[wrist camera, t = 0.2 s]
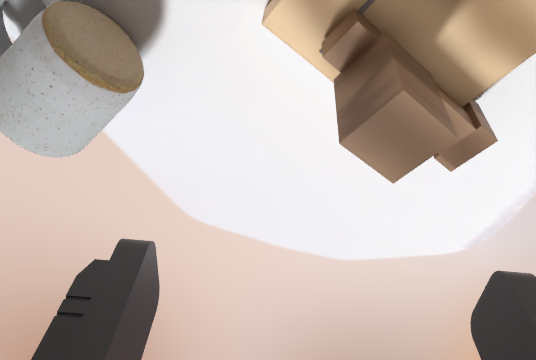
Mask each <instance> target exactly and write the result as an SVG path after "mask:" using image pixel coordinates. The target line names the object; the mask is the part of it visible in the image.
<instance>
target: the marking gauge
mask: <svg viewBox="0 0 536 360" xmlns="http://www.w3.org/2000/svg"><path fill="white" fill-rule="evenodd" d="M322 58H324V59H325V60H326V61H327V62H328V63H330V64H331V65H332V66H333V67H334V68H336V69H337V70H338V71H339V72H340V74H339V75H338V76H337V77H336V78H335V79H334V89H335V100H336V111H337V122H338V133H339V144H341V145H342V146H343V147H345V148H346V149H347V150H349V151H350V152H352V153H353V154H354V155H356V156H357V157H358V158H360V159H361V160H362V161H364V162H365V163H366V164H368V165H369V166H370V167H372V168H373V169H374V170H376V171H377V172H378V173H380V174H381V175H382V176H384V177H385V178H386V179H388V180H389V181H390V182H392V183H395V182H396V181H398V180H399V179H401V178H402V177H403V176H405V175H406V174H408V173H409V172H411V171H412V170H413V169H415V168H416V167H418V166H419V165H421V164H422V163H423V162H425V161H426V160H428V159H429V158H431V157H432V156H433V155H434V158H435V159H436V160H437V161H438V162H440V163H441V164H442V165H443V166H445V167H446V168H447V169H448V170H449V171H453V170H454V169H456V168H457V167H459V166H460V165H462V164H463V163H465V162H466V161H468V160H469V159H471V158H473V157H474V156H476V155H477V154H479V153H480V152H482V151H483V150H485V149H486V148H488V147H489V146H491V145H492V144H494V143H495V142H497V141H498V140H497V138H496V136H495V134H494V133H493V131H492V129H491V127H490V125H489V123H488V122H487V120H486V118H485V116H484V114H483V112H482V110H481V109H480V107H479V105H478V104H477V103H476V102H475V101H474V100H471V101H470V102H469V103H467V104H466V105H465V106H463V107H461V106H460V105H459V104H458V103H457V102H456V101H455V100H454V99H453V98H451V97H450V96H449V95H448V94H447V93H446V92H445V91H444V90H443V89H442V88H441V87H440V86H439V85H437V84H436V83H435V82H434V80H433V78H432V76H431V73H430V72H428V71H427V70H426V69H425V68H424V67H423V66H422V65H421V64H420V63H419V62H418V61H417V60H416V59H415V58H413V57H412V56H411V55H410V54H409V53H408V52H407V51H406V50H405V49H404V48H403V47H402V46H401V45H400V44H398V43H397V42H396V41H395V40H394V39H393V38H392V37H391V36H390V35H389V34H388V33H387V32H386V31H384V32H383V33H381V32H380V31H379V30H378V29H377V28H376V27H375V26H374V25H373V24H372V23H371V22H370V21H368V20H367V19H366V18H365V17H364V16H363V15H362V14H361V13H360V12H359V11H358V10H357V9H356V8H354V9H353V10H352V11H351V12H350V14H349V15H348V16H347V17H346V18H345V19H344V20H343V21H342V22H341V23H340V24H339V25H338V26H337V27H336V28H335V29H334V30H333V31H332V32H331V33H330V34H329V35H328V37H327V38H326V39H325V40H324V41H323V42H322Z"/></svg>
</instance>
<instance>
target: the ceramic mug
mask: <svg viewBox="0 0 536 360" xmlns="http://www.w3.org/2000/svg"><path fill="white" fill-rule="evenodd" d="M41 1H42V2H43V3H44V4H45V6H46V9H44V10H43V11H41V12H40V13H39V14H38V15H36V16H35V17H34V18H33V19H32V21H31V22H30V23H29V24H28V25H27V26H26V28H25V29H24V30H23V32H22V33H21V35H20V36H19V37H18V38H17V40H16V41H15V42H14V43H13V44H12V42H11V41H10V38H9V37H8V34H7V31H6V28H5V25H4V21H3V12H2V11H3V6H4V2H5V0H0V131H1V132H2V133H3V134H4V135H5V136H6V137H8V138H9V139H10V140H11V141H12V142H14V143H15V144H17V145H19V146H21V147H22V148H24V149H26V150H28V151H31V152H33V153H36V154H39V155H42V156H47V157H67V156H71V155H73V154H76V153H78V152H80V151H81V150H83V149H84V148H85V147H86V146H87V145H88V144H89V142H90V141H91V140H92V139H93V138H94V137H95V136H96V135H97V134H98V133H99V132H100V131H101V130H102V129H103V128H104V127H105V126H106V125H107V124H108V123H109V122H110V121H111V120H112V119H113V117H114V116H115V115H116V114H117V113H118V112H119V111H120V110H121V109H122V108H123V107H124V106H126V104H127V103H128V102H129V101H130V100H131V99H132V98H133V96H134V95H135V93H136V92H137V90H138V89H139V87H140V85H141V83H142V80H143V76H144V70H143V63H142V60H141V57H140V54H139V52H138V50H137V48H136V46H135V45H134V43H133V41H132V40H131V39H130V37H129V36H128V35H127V34H126V33H125V32H124V31H123V29H122V28H121V27H119V26H118V25H117V24H116V23H115V22H114V21H113V20H111V19H110V18H109V17H107V16H106V15H104V14H103V13H102V12H100V11H98V10H96V9H94V8H92V7H90V6H88V5H85V4H82V3H78V2H72V1H61V0H41Z"/></svg>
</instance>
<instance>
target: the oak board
mask: <svg viewBox="0 0 536 360" xmlns="http://www.w3.org/2000/svg"><path fill="white" fill-rule="evenodd" d="M354 8H356V9H357V10H358V11H359V12H360V13H361V14H362V15H363V16H364V17H365V18H366V19H367V20H368V21H370V22H371V23H372V24H373V25H374V26H375V27H376V28H377V29H378V30H379V31H380V32H381V33H383V32H384V31H386V32H387V33H388V34H389V35H390V36H391V37H392V38H393V39H394V40H395V41H396V42H397V43H398V44H400V45H401V46H402V47H403V48H404V49H405V50H406V51H407V52H408V53H409V54H410V55H411V56H412V57H413V58H415V59H416V60H417V61H418V62H419V63H420V64H421V65H422V66H423V67H424V68H425V69H426V70H427V71H428V72H430V73H431V76H432V78H433V80H434V82H435V83H436V84H437V85H439V86H440V87H441V88H442V89H443V90H444V91H445V92H446V93H447V94H448V95H449V96H450V97H451V98H453V99H454V100H455V101H456V102H457V103H458V104H459V105H460V106H461V107H463V106H465V105H466V104H467V103H469V102H470V101H471V100H473V99H474V98H475V97H477V96H478V95H479V94H481V93H482V92H484V91H485V90H486V89H488V88H489V87H490V86H492V85H493V84H494V83H496V82H497V81H498V80H500V79H501V78H502V77H504V76H505V75H507V74H508V73H509V72H511V71H512V70H513V69H515V68H516V67H517V66H519V65H520V64H521V63H523V62H524V61H525V60H527V59H528V58H530V57H531V56H532V55H534V54H535V53H536V0H271V2H270V3H269V4H268V5H267V7H266V8H265V10H264V15H263V20H262V25H263V26H265V27H266V28H267V29H268V30H270V31H271V32H272V33H273V34H274V35H276V36H277V37H278V38H279V39H281V40H282V41H283V42H284V43H286V44H287V45H288V46H289V47H290V48H292V49H293V50H294V51H295V52H297V53H298V54H299V55H300V56H302V57H303V58H304V59H305V60H306V61H308V62H309V63H310V64H311V65H313V66H314V67H315V68H316V69H318V70H319V71H320V72H321V73H322V74H324V75H325V76H326V77H327V78H329V79H330V80H331V81H332V82H334V79H335V78H336V77H337V76H338V75H339V74H340V72H339V71H338V70H337V69H336V68H334V67H333V66H332V65H331V64H330V63H328V62H327V61H326V60H325V59H324V58H322V42H323V41H324V40H325V39H326V38H327V37H328V35H329V34H330V33H331V32H332V31H333V30H334V29H335V28H336V27H337V26H338V25H339V24H340V23H341V22H342V21H343V20H344V19H345V18H346V17H347V16H348V15H349V14H350V12H351V11H352V10H353V9H354Z"/></svg>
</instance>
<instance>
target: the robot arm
mask: <svg viewBox="0 0 536 360" xmlns="http://www.w3.org/2000/svg"><path fill="white" fill-rule="evenodd" d="M158 299H159V277H158V267H157V256H156V247H155V243H154V242H153V241H143V240H131V239H121V240H120V241H119V242H118V244H117V246H116V248H115V250H114V252H113V254H112V256H111V258H110V260H109V261H108V260H96V259H95V260H94V261H93V262H91V263H90V264H89V265H88V266H87V267H86V268H85V269H84V270H82V271H81V272H80V273H79V274H78V275H77V276H76V278H75V280H74V281H73V284H72V285H71V287H70V289H69V291H68V293H67V294H66V299H64V300H63V302H62V304H61V306H60V307H59V309H58V311H57V316H55V317H54V319H53V320H52V322H51V324H50V326H49V328H48V330H47V331H46V333H45V335H44V337H43V339H42V340H41V342H40V344H39V346H38V348H37V350H36V352H35V353H34V355H33V357H32V359H31V360H141V358H142V355H143V352H144V348H145V345H146V342H147V339H148V336H149V333H150V329H151V326H152V323H153V320H154V317H155V313H156V310H157V305H158ZM471 333H472V337H473V340H474V342H475V345H476V347H477V350H478V352H479V355H480V357H481V360H536V277H535V276H534V275H533V274H529V273H518V272H506V271H496V272H494V273H493V274H492V276H491V277H490V279H489V281H488V283H487V285H486V287H485V289H484V291H483V293H482V295H481V297H480V299H479V301H478V303H477V305H476V307H475V309H474V310H473V313H472V317H471Z"/></svg>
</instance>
